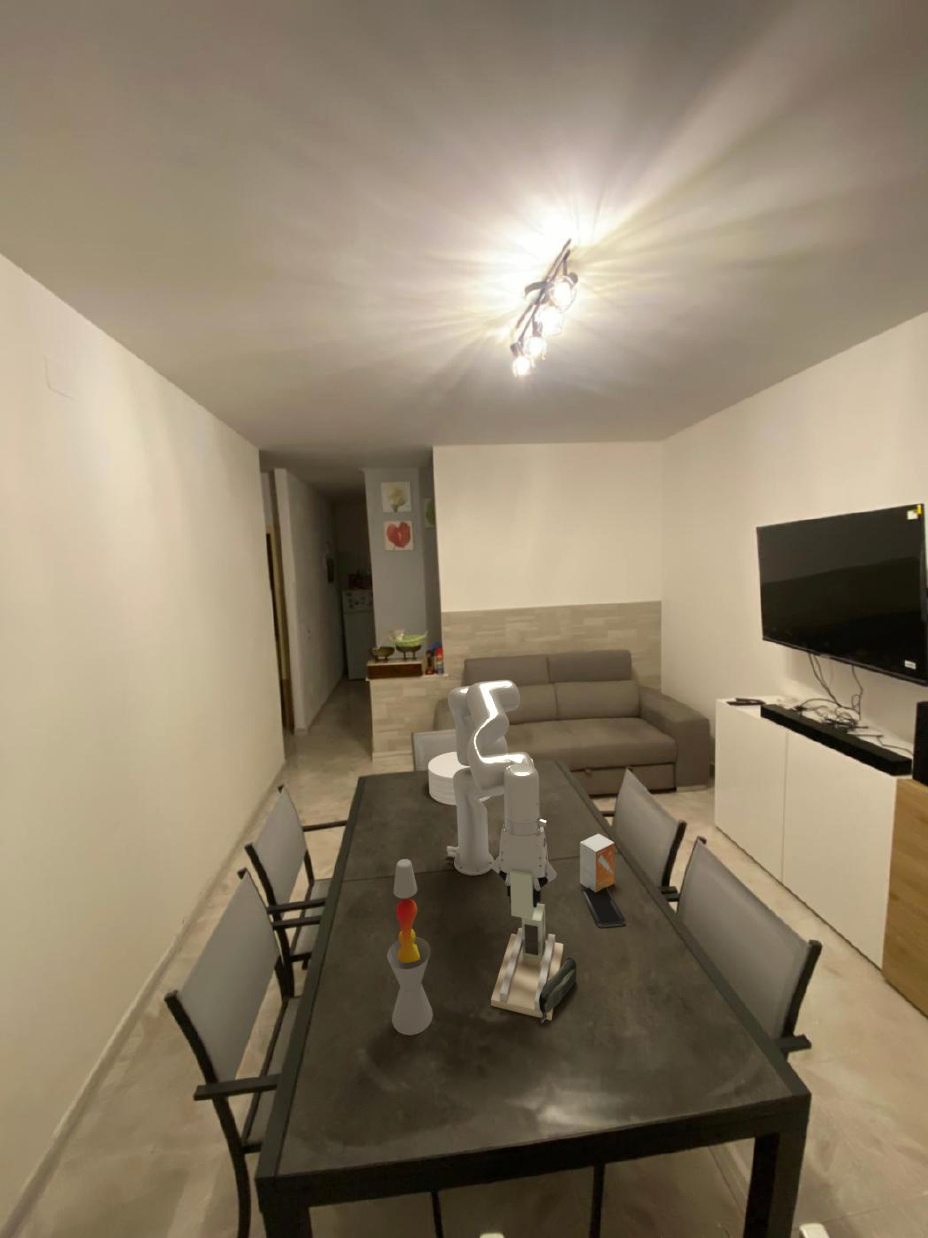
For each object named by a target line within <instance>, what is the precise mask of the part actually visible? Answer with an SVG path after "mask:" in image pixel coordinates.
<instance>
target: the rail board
mask: <svg viewBox="0 0 928 1238" xmlns="http://www.w3.org/2000/svg"><path fill="white" fill-rule="evenodd" d="M546 937H547V939H546ZM507 943H508V944H507V946H506V950H505V953H504V956H503V959H502V962H501V967H500V970H499V973H498V976H497V979H496V983H495V985H494V988H493V991H492V995H491V998H490V1004H491V1005H490V1006H492V1007H496V1008H500V1009H503V1010H508V1011H511V1012H516V1013H519V1014H524V1015H527V1016H531V1017H536V1018H540V1019H541V1018H542V1016H543V1014H542V1012H541V1010H540V1008H539V996H540V993H541V991H542V989H543V987H544V985H545V983H546V982H547V981H548V980H549V979H551V978H552V977H553V976H554V975H555V974H556V973H557V971H558V970H559V969H560V968H561V967H562V959H563V954H564V943H561V942H556V934H552V933H548V936H546V904H544V903H540V902H538V903H537V907H536V908H535V911H534V914H533V918H532V919H526V918H521V927H518V930H517V934H515V933H511V934H510V937H509V940H508V942H507ZM553 1013H554V1008H552V1009H551V1010H550V1011H549V1012H547V1017H546V1019H545V1020H548V1021H552V1018H553Z"/></svg>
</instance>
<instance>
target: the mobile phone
mask: <svg viewBox="0 0 928 1238" xmlns="http://www.w3.org/2000/svg"><path fill="white" fill-rule="evenodd" d="M576 980H577V963H576V960H574V959H573V958H571V957H568V958H567V959H566V960H565V962H564V963H563V964H561V966H560V969H559V970H558V971H557V973H556V974H555V975H554V976H553V977H552V978H551V979H549V980H548V981H547V982H546V983H545V985H544V987H543V989H542V991H541V993H540V996H539V1008H540V1010H541V1012H542V1014H543V1016H542V1018H540V1020H539V1023H540V1024H543V1023H544V1022H545V1021H546V1020H547V1019H546V1017H547V1012H549V1011H550V1010H551V1009H552V1008H553V1009H554V1008H555V1007H557V1006H558V1004H560V1003H561V1001H562V1000H563V998H564V997H565V996H566V994H568V992H569V991H570V989H571V988H572V987H573V986H574V985H575V984H574V983H575V982H576Z"/></svg>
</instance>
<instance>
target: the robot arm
mask: <svg viewBox="0 0 928 1238" xmlns="http://www.w3.org/2000/svg"><path fill="white" fill-rule="evenodd" d="M520 702H521V695H520V691H519V688H518V687H517V685H516V683H515V682H514V681H512V680H510V679H499V680H489V681H488V680H487V681H480V682H475V683H473V684H472V685H468V686H467V685H466V686H458V687H455V688H453V689H450V691H449V692H448V695H447V705H448V707H449V710H450V712H451V715H452V717H453V720H454V724H455V726H454V727H455V748H456V751H455V752H457V759H458V761H459V763H460V764H461V765H464V766H470V767H468V768H463V769H460V770H458V771H457V772H456V773H455V774H454V776H453V788H454V793H455V798H456V805H455V806H456V820H457V821H456V822H457V840H458V841H457V843H458V845H457V846H453V845H447V846H446V853H447V857H450V858H454V860H453V861H454V862H453V863H454V868H455V870H456V871H458V872H459V873H461V874H463V875H467V876H479V875H480V876H481V875H484V874H486V873H489V872H490V871H491V870H493V871H494V872H496V874H498V875H499V876H500V878H501V879H502V880H503V881H504V884H505V886H506V892H507V893H506V894H507V897H509V904H511V883H510V872H511V870H513V871H519V872H526V873H532V877H533V883H534V889H533V907H535V908H536V907H537V903H540V902H541V900H542V899H541V898H542V888H543V887H544V886H546V885H547V884H548V883H549V882H552V881H553V880H555V879H556V878H557V872H556V870H555V869H554V867H553V865H552V864H551V863H550V862H549V859H548V858H549V857H548V855H549V854H548V847H547V844H548V843H547V838H546V832H545V829H544V828H547V820H546V819H545V820H544V819H542V817H541V814H540V779H539V772H538V770H537V769H536V768H535V762H534V759H533V758H532V757H531V756H530V755H529V753H527V752H525V751H513V752H509V748H508V742H507V740H506V737H505V735H506V734H507V732H508V730H509V728H510V720H509V718H508V715H507V714H506V712H512V711H516V710H517V709H518V708H519V706H520ZM502 795H503V804H504V805H503V808H504V809H503V810H504V823H503V824H502V827H501V833H500V841H499V854H498V856H497V857H496V859H494V857H493V855H492V854H491V853H490V852H489V831H488V830H489V829H488V828H489V827H488V809H487V808H486V806H485V804H484V803H483V801H482V802H481V801H480V800H479V799H481V798H485V797H490V798H491V797H498V796H502Z"/></svg>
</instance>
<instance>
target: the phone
mask: <svg viewBox="0 0 928 1238" xmlns="http://www.w3.org/2000/svg"><path fill="white" fill-rule="evenodd" d="M581 895H582V897H583V900H584V902H585V904H586V906H587V908H588V911H589V912H590V914H591V917H592V919H593V920H594V921H593V922H594V923H595V926H596V927H598V928H599V929H606V928H607V929H608V928H614V927H615V928H618V927H624V926H626V919H625V917H624V916H623V913H622V911H621V910H620V907H619V906H618V904H617V902H616V900H615V898H614V897H613V895H612V893H611V891H610V889H609V888H608V887H604V888H603V889H601V890H599V891H598V892H594V891H593V890H592V889H590V888H587V887H583V888H582V889H581Z"/></svg>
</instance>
